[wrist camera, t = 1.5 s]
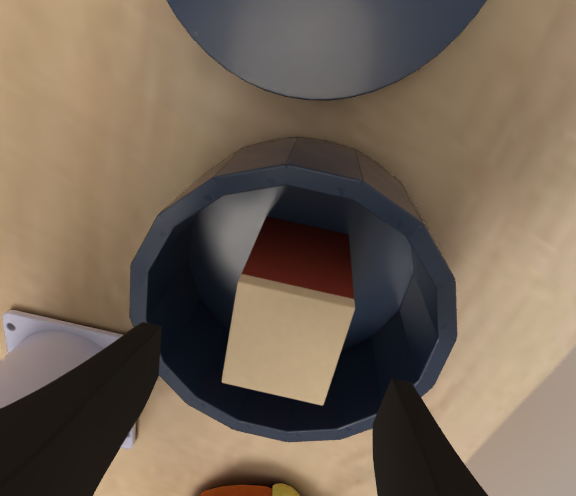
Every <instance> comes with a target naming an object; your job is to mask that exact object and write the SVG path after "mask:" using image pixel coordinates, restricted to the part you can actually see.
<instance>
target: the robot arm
mask: <svg viewBox="0 0 576 496" xmlns="http://www.w3.org/2000/svg"><path fill="white" fill-rule="evenodd" d="M3 325H4V331H5V338H6V344H7V351H8V355H6V356H5V357H4V358H3V359H2V360H1V361H0V496H93V494H94V492H95V490H96V489H97V487H98V485H99V483H100V481H101V479H102V478H103V476H104V474H105V472H106V471H107V469H108V467H109V466H110V464H111V462H112V461H113V459H114V457H115V456H116V454H117V452H118V451H119V449H120V448H124V449H130V448H132V447H133V445H134V443H135V432H136V421H137V419H138V417H139V416H140V414H141V412H142V410H143V409H144V407H145V405H146V403H147V401H148V399H149V396H150V394H151V392H152V390H153V387H154V385H155V383H156V381H157V378H158V376H159V362H160V346H161V330H162V326H158V325H154V324H150V323H145V322H142V323H140V324H138V325H137V326H135V327H134V328H133V329H131V330H130V331H128V332H127V333H126V334H124V335H122V334H118V333H114V332H109V331H105V330H100V329H96V328H92V327H87V326H83V325H78V324H74V323H70V322H65V321H61V320H56V319H52V318H47V317H43V316H39V315H34V314H30V313H25V312H21V311H17V310H8V311H7V312H5V313H4V314H3ZM373 462H374V470H375V478H376V486H377V494H378V496H488V495H487V494H486V492H485V491H484V490H483V489H482V487H481V486H480V485H479V483H478V482H477V481H476V479H475V478H474V477H473V475H472V474H471V473H470V471H469V470H468V468H466V466H465V464H464V463H463V462H462V460H461V459H460V457H459V456H458V455H457V453H456V452H455V450H454V449H453V447H452V446H451V444H450V443H449V441H448V440H447V438H446V437H445V435H444V434H443V432H442V431H441V429H440V427H439V426H438V424H437V423H436V421H435V420H434V418H433V416H432V415H431V413H430V412H429V410H428V408H427V407H426V405H425V403H424V402H423V400H422V398H421V397H420V395H419V394H418V392H417V390H416V389H415V387H414V385H413V384H412V382H408V381H404V380H399V379H395V378H392V379H391V381H390V383H389V386H388V388H387V391H386V393H385V396H384V398H383V400H382V403H381V405H380V408H379V410H378V412H377V415H376V417H375V420H374V422H373Z"/></svg>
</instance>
